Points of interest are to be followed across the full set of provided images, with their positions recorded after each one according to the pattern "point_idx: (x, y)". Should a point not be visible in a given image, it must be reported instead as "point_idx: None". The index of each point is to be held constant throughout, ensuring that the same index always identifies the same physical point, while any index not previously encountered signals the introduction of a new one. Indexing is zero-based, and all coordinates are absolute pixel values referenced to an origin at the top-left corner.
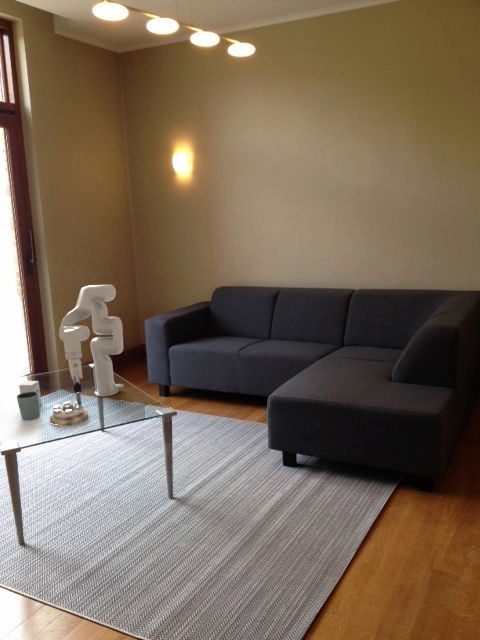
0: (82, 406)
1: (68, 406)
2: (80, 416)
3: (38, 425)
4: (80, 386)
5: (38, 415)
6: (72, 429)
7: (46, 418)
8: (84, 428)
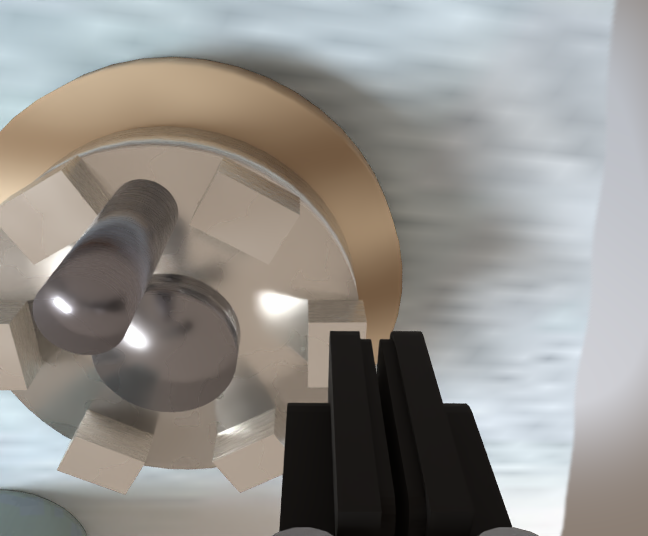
0: (222, 166)
1: (180, 350)
2: (311, 176)
3: (244, 497)
4: (446, 440)
5: (33, 511)
6: (526, 262)
7: None
8: (586, 147)
